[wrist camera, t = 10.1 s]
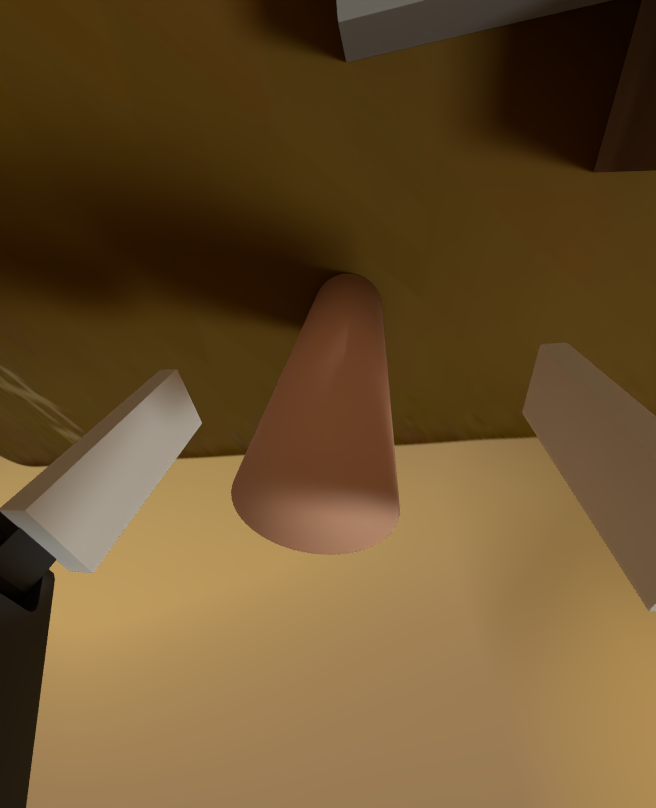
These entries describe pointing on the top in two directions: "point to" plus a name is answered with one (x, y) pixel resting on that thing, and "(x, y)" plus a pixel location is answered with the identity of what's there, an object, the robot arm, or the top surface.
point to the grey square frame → (431, 20)
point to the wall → (634, 103)
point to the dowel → (326, 433)
